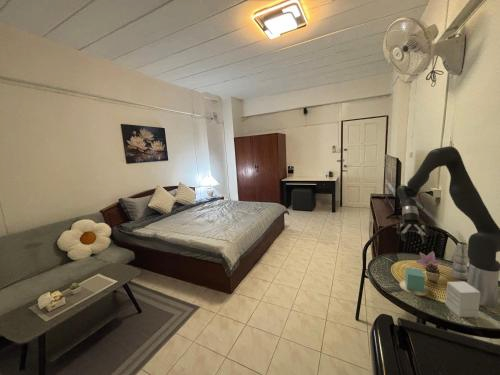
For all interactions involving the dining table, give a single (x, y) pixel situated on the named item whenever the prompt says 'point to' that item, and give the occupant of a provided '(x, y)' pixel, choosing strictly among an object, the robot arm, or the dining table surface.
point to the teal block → (414, 279)
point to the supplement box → (462, 299)
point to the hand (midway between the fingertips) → (414, 241)
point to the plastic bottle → (460, 261)
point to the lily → (428, 259)
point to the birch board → (426, 291)
